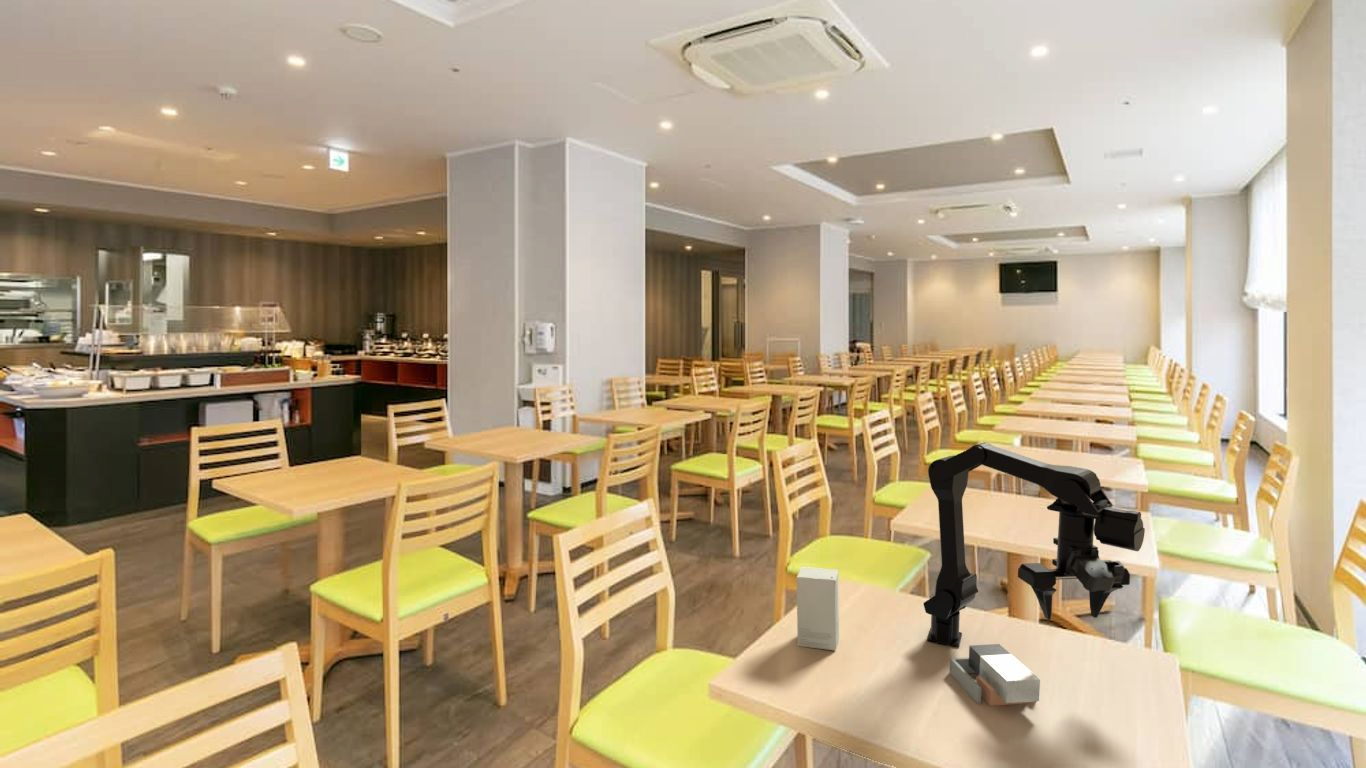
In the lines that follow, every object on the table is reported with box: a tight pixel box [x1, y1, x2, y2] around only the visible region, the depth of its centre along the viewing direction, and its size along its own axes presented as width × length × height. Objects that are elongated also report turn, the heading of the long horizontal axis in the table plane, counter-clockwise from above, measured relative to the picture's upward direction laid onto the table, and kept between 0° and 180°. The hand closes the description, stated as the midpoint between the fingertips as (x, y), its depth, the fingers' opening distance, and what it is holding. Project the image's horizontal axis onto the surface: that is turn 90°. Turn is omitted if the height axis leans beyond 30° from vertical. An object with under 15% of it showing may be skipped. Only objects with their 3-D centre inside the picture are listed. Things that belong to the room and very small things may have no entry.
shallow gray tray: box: [949, 656, 982, 705], centre depth 132 cm, size 11×11×3 cm
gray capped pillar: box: [968, 643, 1041, 703], centre depth 128 cm, size 4×6×13 cm
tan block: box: [976, 675, 1028, 706], centre depth 128 cm, size 5×7×3 cm
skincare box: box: [796, 566, 840, 651], centre depth 148 cm, size 8×7×16 cm
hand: (1070, 617), depth 131 cm, fingers open, 9 cm apart
